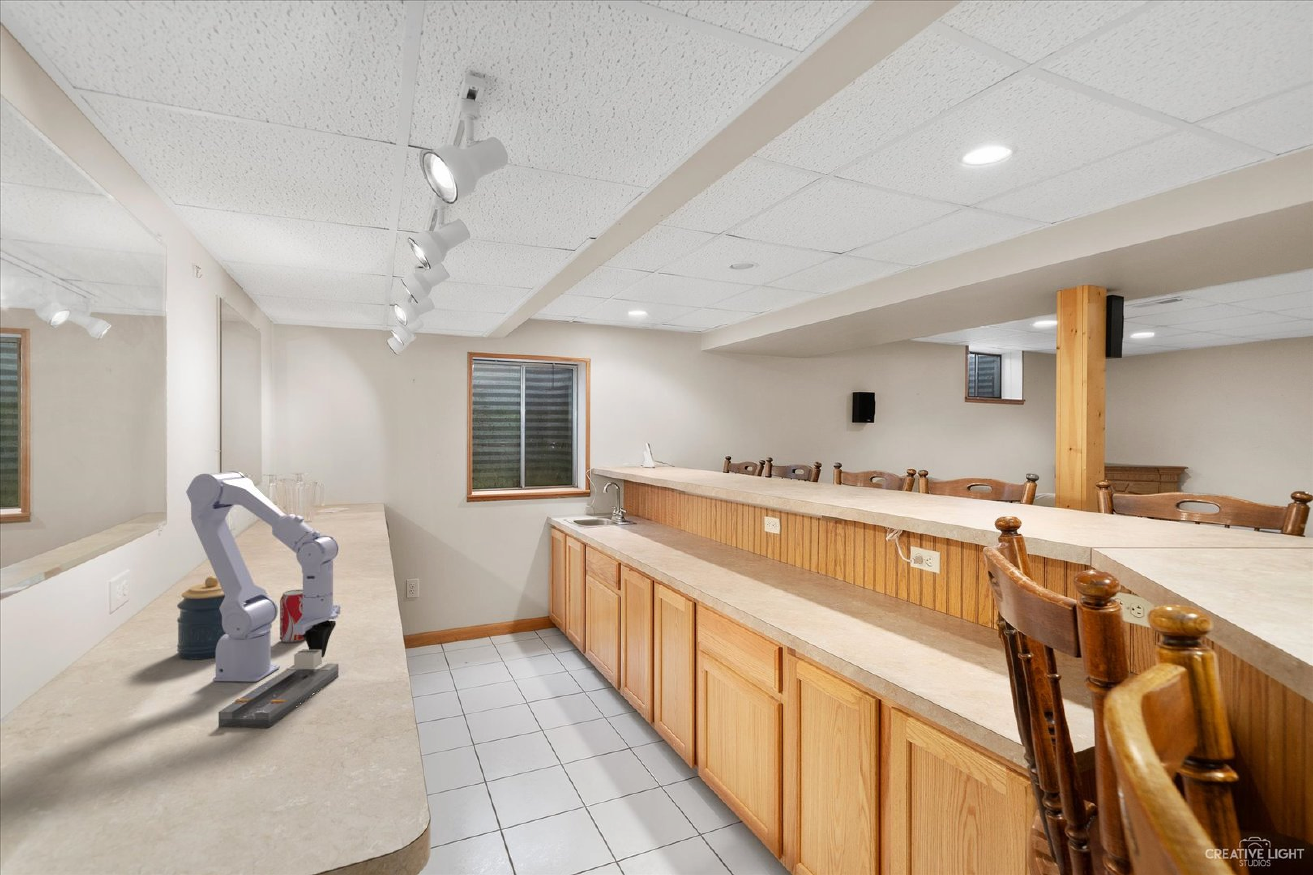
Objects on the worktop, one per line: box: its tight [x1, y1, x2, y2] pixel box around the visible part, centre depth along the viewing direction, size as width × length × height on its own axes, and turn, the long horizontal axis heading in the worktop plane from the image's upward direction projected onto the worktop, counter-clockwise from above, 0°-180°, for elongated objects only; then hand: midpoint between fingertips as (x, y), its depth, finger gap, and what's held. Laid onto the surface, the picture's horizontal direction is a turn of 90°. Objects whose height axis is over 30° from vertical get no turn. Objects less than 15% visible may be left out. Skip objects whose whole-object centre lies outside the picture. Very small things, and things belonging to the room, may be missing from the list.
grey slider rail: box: [218, 663, 339, 729], centre depth 121 cm, size 9×23×3 cm, turn 179°
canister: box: [176, 575, 226, 660], centre depth 147 cm, size 13×13×18 cm
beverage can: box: [279, 589, 305, 644], centre depth 155 cm, size 6×6×12 cm
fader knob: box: [293, 648, 323, 676], centre depth 129 cm, size 4×3×5 cm
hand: (317, 657), depth 132 cm, fingers closed
